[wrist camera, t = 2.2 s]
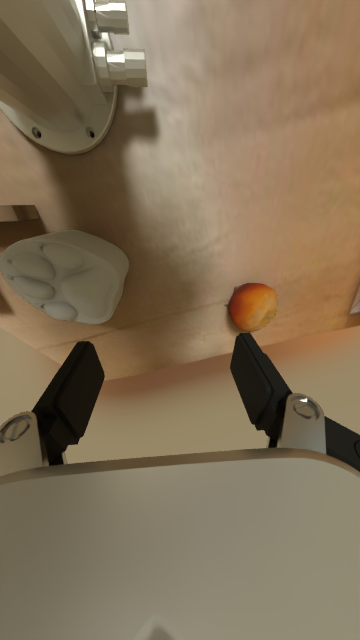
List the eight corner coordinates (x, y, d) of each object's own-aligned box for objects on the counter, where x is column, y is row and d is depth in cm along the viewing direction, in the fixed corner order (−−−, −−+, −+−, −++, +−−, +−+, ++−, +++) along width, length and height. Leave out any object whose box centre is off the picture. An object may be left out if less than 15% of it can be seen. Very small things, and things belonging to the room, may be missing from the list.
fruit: (223, 275, 28) (268, 297, 23) (252, 273, 32) (294, 291, 27) (210, 317, 32) (245, 344, 27) (237, 310, 37) (271, 332, 32)
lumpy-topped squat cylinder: (119, 306, 32) (105, 337, 24) (37, 283, 28) (-7, 310, 21) (133, 250, 26) (121, 267, 19) (35, 212, 23) (-24, 216, 16)
